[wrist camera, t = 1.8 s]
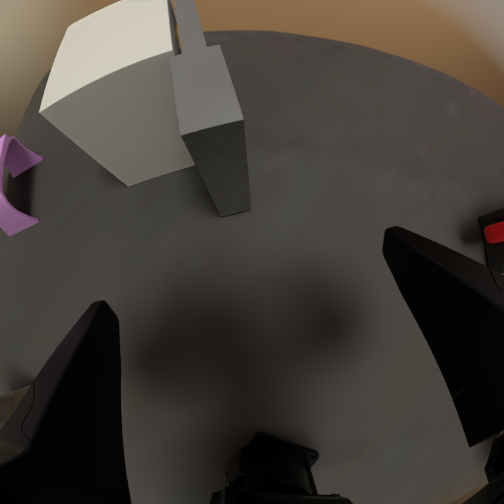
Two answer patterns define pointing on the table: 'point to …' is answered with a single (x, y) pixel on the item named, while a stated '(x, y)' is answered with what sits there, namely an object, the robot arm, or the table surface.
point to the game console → (494, 239)
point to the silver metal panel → (210, 114)
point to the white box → (120, 90)
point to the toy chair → (16, 162)
